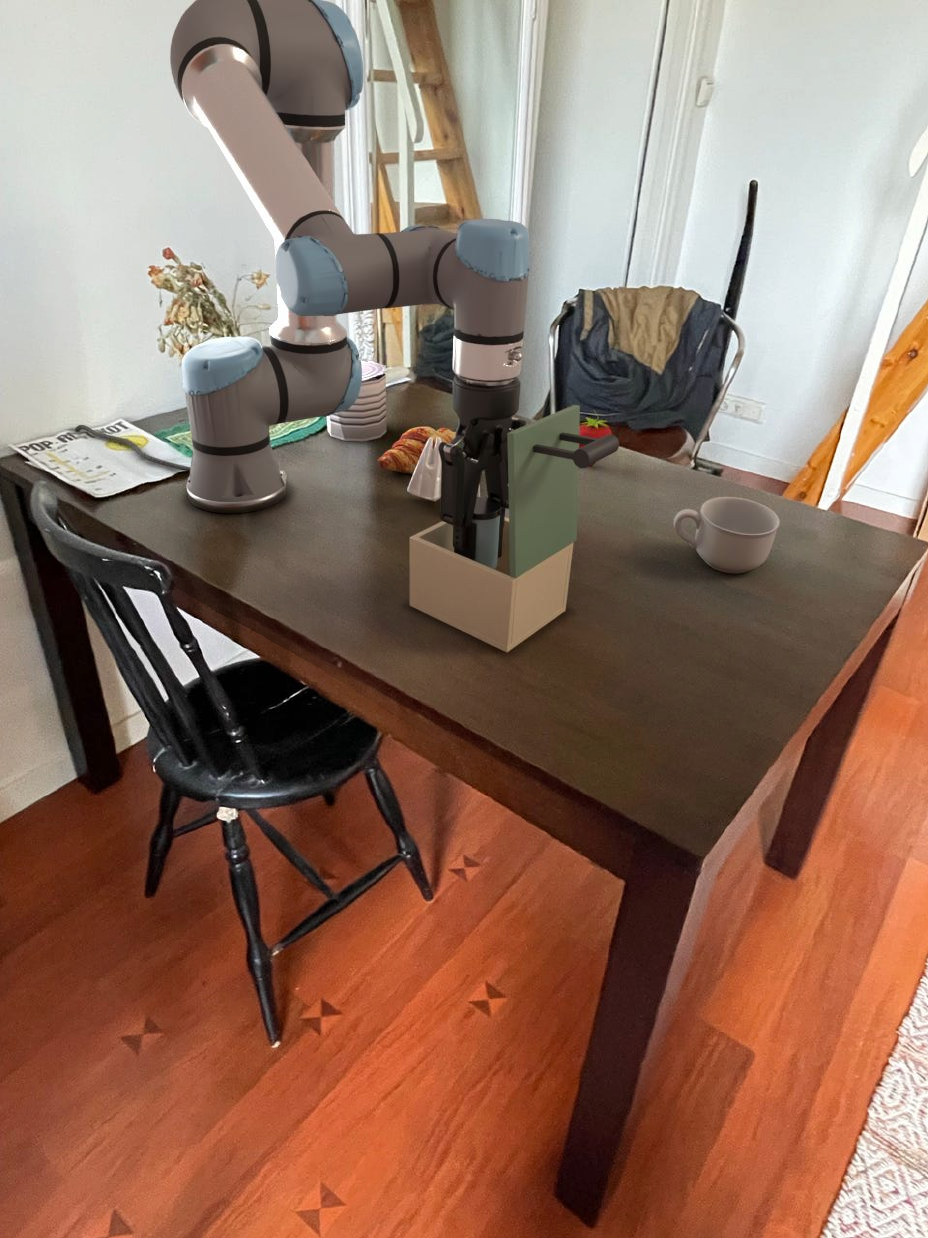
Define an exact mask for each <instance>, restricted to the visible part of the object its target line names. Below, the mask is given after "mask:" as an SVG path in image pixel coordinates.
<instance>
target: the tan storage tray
mask: <svg viewBox="0 0 928 1238" xmlns="http://www.w3.org/2000/svg"><path fill="white" fill-rule="evenodd" d="M574 543H575V542H573V543H571V544H570V545H568V546H567V547H565V548H563V549H562V550H560V551H559V552H557V553H555V554H554V555H552V556H551V557H549V558H547V559H546V560H544V561H543V562H541V563H539V564H538V565H536V566H535V567H533V568H531V569H530V570H528V571H527V572H525V573H523V574H522V575H520V576H519V577H517V578H513V577H510V539H509V518H506V517H505V524H504V528H503V540H502V555H501V557H500V558H498V559H497V566H496V568H495V569H492V568H490V567H487V566H485V565H483V564H480V563H478V562H475V561H473V560H471V559H468V558H466V557H464V556H461V555H459V554H457V553H454V547H453V525H451V524H448V523H446V522H443V521H440V522H438V523H436V524H434V525H431V526H430V527H427V528H426V529H423V530H422V531H420V532H417V533H416V534H414V535H411V536H410V537H409V606H410V607H412V608H413V609H416V610H418V611H420V612H422V613H424V614H426V615H427V616H430V617H432V618H434V619H436V620H439V621H440V622H442V623H445V624H446V625H449V626H451V627H452V628H455V629H457V630H458V631H461V632H463V633H466V634H467V635H470V636H471V637H473V638H476V639H478V640H480V641H482V642H483V643H486V644H488V645H490V646H492V647H495V649H499V650H500V651H502V652H505V653H508V652H510V651H511V650H513V649H514V648H516V647H518V645H519V644H521V643H523V642H524V641H525V640H527V639H528V638H529V637H531V636H532V635H534V634H535V633H536V632H538V631H539V630H540V629H541V630H542V629H543V627H545V626H547V625H548V624H549V623H550V622H552V621H553V620H554V619H556V618H557V617H559V616H560V615H561V614H563V613H564V612H566V609H567V600H568V594H569V585H570V584H569V583H570V577H571V567H572V561H573V560H572V559H573V551H574Z"/></svg>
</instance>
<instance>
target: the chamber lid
mask: <svg viewBox="0 0 928 1238" xmlns="http://www.w3.org/2000/svg"><path fill="white" fill-rule="evenodd" d="M580 417H581V406H580V405H579V404H577V405H576V404H573V405H570V406H567V407H566V408H563V409H561V410H559V411H556V412H554V413H551V414H549V415H547V416H545V417H542V418H540V419H537V420H535V421H533V422H530V423H528V424H526V425H525V426H523V427H521V428H518V429H516V430H513V431H511V432H509V433H508V486H509V539H510V577H513V578H517V577H519V576H520V575H522V574H523V573H525V572H527V571H528V570H530V569H531V568H533V567H535V566H536V565H538V564H539V563H541V562H543V561H544V560H546V559H547V558H549V557H551V556H552V555H554V554H555V553H557V552H559V551H560V550H562V549H563V548H565V547H567V546H568V545H570V544H571V543H575V542H576V541H578V540H577V539H578V509H579V508H578V503H579V502H578V500H579V469H586V468H587V467H589V465H591V464H593V463H595V462H596V463H597V462H599V461H601V460H603V459H605V458H607V457H608V456H610V455H612V454H614V453H616V452H617V451H618V449H619V448H620V440H619V439H618V437H617V436H616V435H614V434H608V435H606V436H604V437H602V438H600V439H598V438H592V437H586V436H581V435H579V427H580V426H581V424H580V423H581V421H580V420H581V419H580ZM579 444H585V446H583V447H581V448H579ZM596 463H595V464H596Z"/></svg>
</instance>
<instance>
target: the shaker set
mask: <svg viewBox="0 0 928 1238" xmlns="http://www.w3.org/2000/svg"><path fill="white" fill-rule="evenodd" d="M440 443H441V438H440V437H437V438H436V443H435V447H434V449H433V448H432V446H433V438H432V437H430V438H429V439H428V441H427V443H426V445H425V447H424V449H423V452H422V454H421V457H420V459H419V461H418V464H417V466H416V469H415V471H414V473H412V476H411V479H410V481H409V484H408V486H407V493H409V494H410V495H413V496H415V497H419V498H421V499H425V500H428V501H431V502H434V503H435V502H436V501H438V500H441V465H442V462H441V458H440V454H439V450H438V447H439V444H440ZM471 460H474V459H471ZM474 461H477V462H478V460H474ZM480 484H481V483H480ZM480 484H479V489H478V494H477V497H481V487H480V486H481V485H480Z"/></svg>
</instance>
